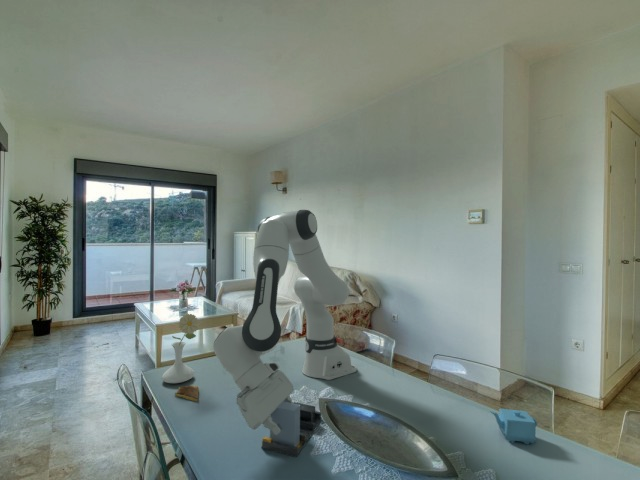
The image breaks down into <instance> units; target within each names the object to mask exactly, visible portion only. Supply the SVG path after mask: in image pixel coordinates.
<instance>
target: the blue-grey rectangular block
mask: <svg viewBox="0 0 640 480" xmlns="http://www.w3.org/2000/svg"><path fill="white" fill-rule="evenodd" d="M270 416H271V418H272V421H273V422H274V423H276V424H278V423H279V424H280V426H281V427H282V430H281V432H280V433H279V434H277V435H275V434H274V433H273V431H272V430H270V429H269V437H270V438H272V439H273V441H275V442H279V443H283V444H288V445H292V446H297V445H298V443H299V442H300V405H299V404H294V402H293V403H289V402H284V401H283V402H282V403H281V404H280V405H279V406H278V407H277V409H276V410H275V411H274V412H273V413H272V414H271V415H270Z"/></svg>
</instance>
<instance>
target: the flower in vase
mask: <svg viewBox="0 0 640 480" xmlns="http://www.w3.org/2000/svg"><path fill="white" fill-rule="evenodd" d="M179 318H180V319H179V322H178V328H179V329H180V330H181V332H182V333H184V335H183V336H182V338H181V337H176V336H174V335H172V336H171V337H172V338H173V339H175V340H180V341H176V342H173V343H171V346H172V348H173V349H174V356H175V359H174V363H173V365H171V366H170V367H169V368H168V369H167V370H166V371H165V372H164V373H163V374H162V376H161V379H162V381H163V382H165V383H167V384H180V383H184V382H186V381H189V380H190V379H191V380H192V378H193V377H194V375H195V371H194V370H193V368H191V367H190V366H189V365H186V364H185V363H184V362H183V359H182V358H183V357H182V356H183V349H184V347H185V345H186V344H187V342H185V341H183V340H184V338H185V337H186V339H188V340H191V339H192V340H193V339H194V338H196V337H197V335H196V334H195V332H197V331H198V330H199V327H200V321H199V319H198V317H197V316H196V315H195V314H192V313H185V314H183V316H181V317H179Z"/></svg>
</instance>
